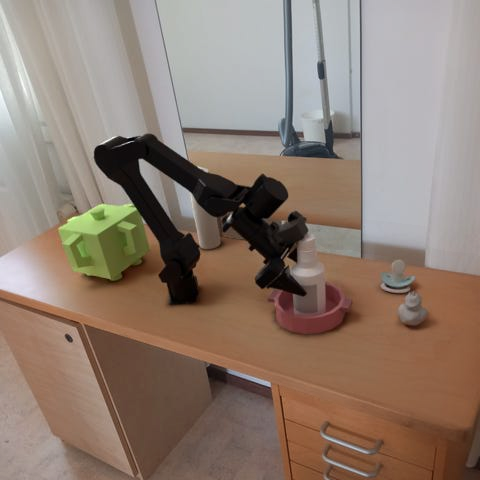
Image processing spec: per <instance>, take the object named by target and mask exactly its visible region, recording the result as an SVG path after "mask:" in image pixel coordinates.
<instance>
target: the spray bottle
mask: <svg viewBox="0 0 480 480" xmlns="http://www.w3.org/2000/svg"><path fill="white" fill-rule="evenodd" d="M317 251H318V250H317V245H316V237H315V236H314V235H313V234H312V233H307V234H305V237H304V238H303V239H302V240H300V241H298V245H297V263H296V262H295V263H294V264H293V265H292V266H291V267H290V268H291V269H290V274H291V275H292V276H293V278H294V279H295V280H296V281H297V282H298V283H299V284H300V285H301V286H302V287H303V289H304V290H305V291H306V292H307V294H306V295H305V296H304V297H302V296H299V295H296V294H293V303H294V314H295V315H300V316H315V315H321V314H324V313H326V297H325V281H326V270H325V269H326V268H325V265H324V264H323V263H322V262H320V261H319V260H318V253H317Z"/></svg>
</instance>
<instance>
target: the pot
mask: <svg viewBox="0 0 480 480" xmlns="http://www.w3.org/2000/svg"><path fill="white" fill-rule="evenodd" d="M325 297H326V313H324V314H321V315H315V316H300V315H295V314H294V303H293V293H289V292H286V291H283V290H278V289H272V291H271V293H270V294H269V296H267V302H268V303H274V307H275V317H276V322H277V323H278V324H279V325H280V326H281V327H282V328H283V329H285V330H287V331H289V332H291V333H296V334H303V335H315V334H322V333H325V332H328V331H330V330H332V329H335V328H336V327H337V326H339V325H340V324H341V323H342V322H343V320H344V318H345V316H346V313H349V312H350V310H351V307H352V305H353V304H354V303H353V302H354V301H353V300H354V299H353V298H349V297H346V296H345V293H344V291H343V289H341V288H340V287H339V286H337V285H336V284H334V283H331V282H328V281H326V280H325Z"/></svg>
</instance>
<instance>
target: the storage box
mask: <svg viewBox="0 0 480 480" xmlns="http://www.w3.org/2000/svg"><path fill="white" fill-rule="evenodd" d="M66 222H67V223H65V224H63V225H61V226H60V227H58V228H57V231H58V234H59V237H60V239H61V242H62V243H61V246H62V248H63V250H64V252H65V255H66V258H67V260H68V262H69V266H70V267H71V270H72V272H75V273H79V274H84V275H87V276H89V277H93V276H94V277H97V278H103V279H108V280H109V281H111V282H114V281H119V280H120V279H122V278H123V274H122V272H124V271H125V270H126V269H127V268H128V267H130V266H133V267H134V266H138V265H140V264H141V263H142V262H143V260H142V259H141V258H142V257H143V256H145V255H147V254H148V253H149V252H150V251H151V248H150V244H149V239H148V236H147V232H146V229H145V225H144V220H143V218H142V216H141V215H140V213H139V212H138V210H137V209H136V207H135V206H134V204H133V203H125V204H122V205H114V204H108V203H107V204H106V203H100V204H98V205H96V206H94V207H93V208H91V209H89V210H87V211H86V212H84V213H82V214H80V215H77V216H73V217H70V218H68V219H67V220H66Z"/></svg>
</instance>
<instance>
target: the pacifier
mask: <svg viewBox="0 0 480 480" xmlns="http://www.w3.org/2000/svg"><path fill="white" fill-rule="evenodd" d="M405 271H406V263H405V262H404V261H403V260H402V259H396V260H394V261H393V262H392V264H391V272H392V273H390V272H381V274H380V278H381V281H382V283H381V284H380V288H381V289H382V290H383V291H385V292H388V293H392V294H405V293H409V292H411V286H410V285H411V284H412V283H414V281H415V280H416V276H415V275H408V276H407V275H406V276H404V273H405ZM387 286H388V287H387Z"/></svg>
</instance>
